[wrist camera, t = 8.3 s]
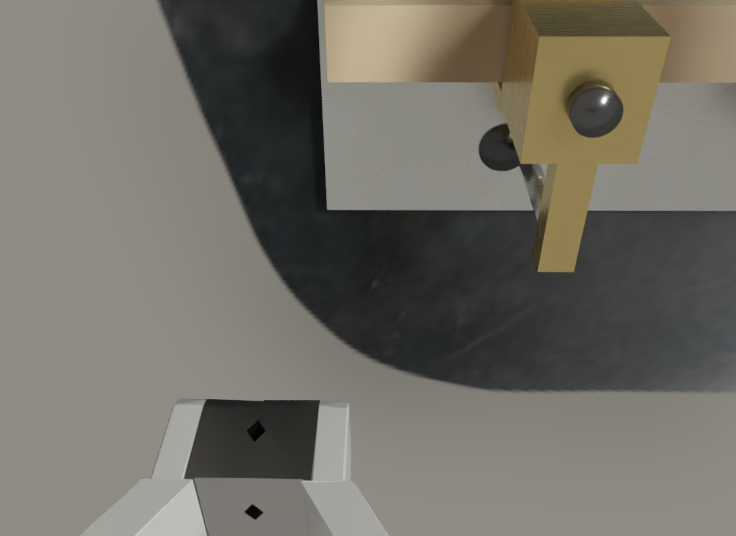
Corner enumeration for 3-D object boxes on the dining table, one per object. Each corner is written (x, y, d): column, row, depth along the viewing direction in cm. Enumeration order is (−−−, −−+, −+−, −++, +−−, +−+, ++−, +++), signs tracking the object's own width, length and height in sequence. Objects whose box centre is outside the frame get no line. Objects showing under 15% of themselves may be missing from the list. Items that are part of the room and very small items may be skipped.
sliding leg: (605, -45, 27) (683, 32, 20) (564, 170, 33) (613, 287, 26) (503, -44, 27) (546, 32, 20) (480, 170, 33) (507, 286, 26)
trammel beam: (983, -37, 28) (1163, 33, 21) (879, 167, 33) (997, 270, 27) (328, -36, 28) (313, 33, 22) (335, 166, 33) (326, 268, 27)
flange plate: (999, -77, 27) (1016, -72, 27) (858, 202, 35) (868, 212, 35) (315, -76, 28) (313, -71, 27) (328, 201, 36) (327, 210, 35)
